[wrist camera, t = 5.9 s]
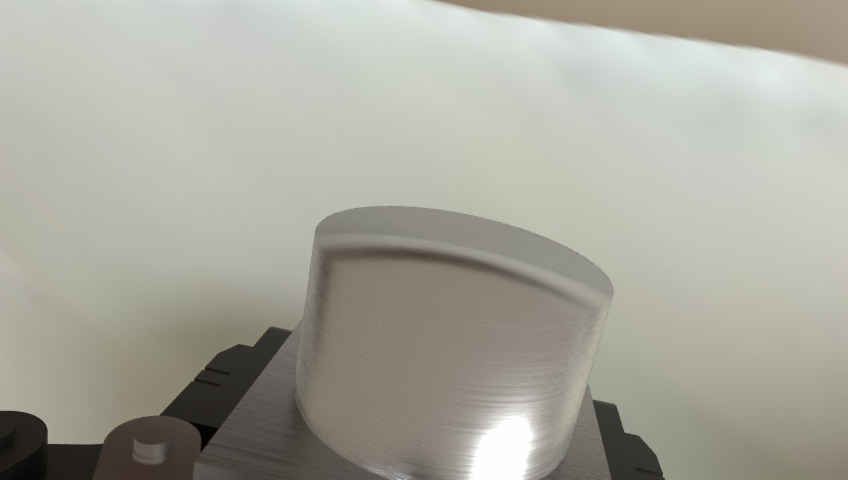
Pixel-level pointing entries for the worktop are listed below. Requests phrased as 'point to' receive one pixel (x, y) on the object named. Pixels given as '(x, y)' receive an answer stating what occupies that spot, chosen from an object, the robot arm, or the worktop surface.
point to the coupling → (427, 359)
